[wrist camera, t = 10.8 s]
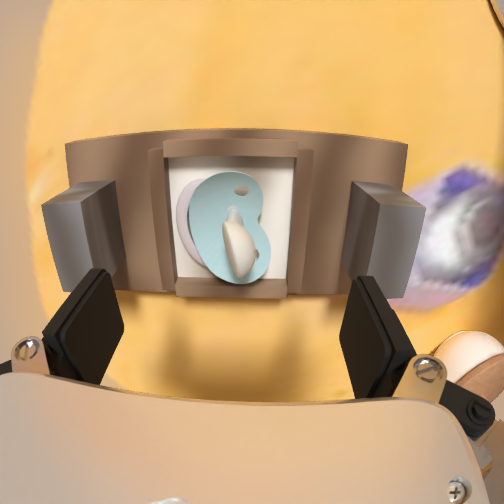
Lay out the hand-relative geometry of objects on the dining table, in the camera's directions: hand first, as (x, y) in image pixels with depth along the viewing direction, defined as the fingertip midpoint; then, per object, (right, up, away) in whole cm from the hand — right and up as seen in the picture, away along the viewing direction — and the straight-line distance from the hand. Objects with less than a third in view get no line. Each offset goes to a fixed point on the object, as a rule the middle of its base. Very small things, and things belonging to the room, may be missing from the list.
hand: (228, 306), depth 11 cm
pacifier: (-1, +4, +9) cm, 10 cm away
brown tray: (-1, +5, +10) cm, 12 cm away
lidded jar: (+25, -10, +18) cm, 33 cm away
